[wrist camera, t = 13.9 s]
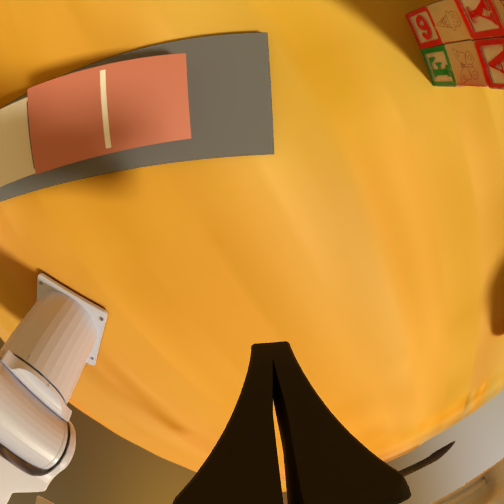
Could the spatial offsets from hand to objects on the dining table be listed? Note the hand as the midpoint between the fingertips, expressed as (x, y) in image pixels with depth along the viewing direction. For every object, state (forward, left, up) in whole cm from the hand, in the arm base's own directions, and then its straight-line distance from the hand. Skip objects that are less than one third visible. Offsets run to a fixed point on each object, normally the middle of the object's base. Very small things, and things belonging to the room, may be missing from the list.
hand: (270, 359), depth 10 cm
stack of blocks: (+28, -8, -11) cm, 31 cm away
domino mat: (+1, +16, -10) cm, 19 cm away
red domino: (+7, +9, -9) cm, 14 cm away
